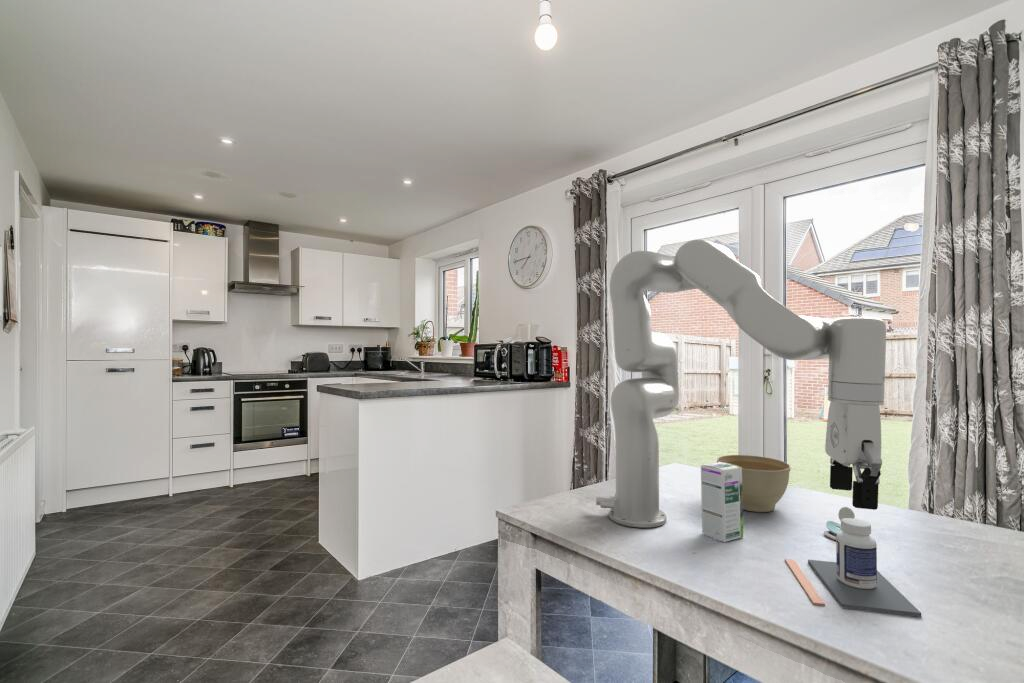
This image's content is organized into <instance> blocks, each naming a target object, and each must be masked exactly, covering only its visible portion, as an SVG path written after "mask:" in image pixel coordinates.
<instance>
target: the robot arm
mask: <svg viewBox="0 0 1024 683" xmlns="http://www.w3.org/2000/svg"><path fill="white" fill-rule="evenodd" d="M691 290H699V291H700V292H702V293H703V294H704V295H706V296H707V297H708V298H710V300H713V301H714V302H715V303H717V304H718V305H719V306H721V307H722V308H723V309H724V310H725V311H726V312H727V314H728V316H729V317H730V318H731V319H732V320H733V322H734V323H735V324H736V325H737V326H738V328H740V330H741V331H743V332H744V333H745V334H746V335H747V336H748V337H750V338H751V339H753V340H754V341H755V342H756V343H758V344H759V345H760V346H762V347H763V348H764V349H766V350H767V351H769V352H770V353H771V354H773V355H774V356H777V357H779V358H782V360H783V359H784V360H787V361H811V360H822V359H823V360H825V359H828V382H827V383H828V384H827V387H828V388H827V401H829V407H828V413H827V420H826V433H825V444H824V445H825V446H824V450H825V453H826V455H827V456H829V457H830V459H829V463H830V466H829V468H830V470H829V471H830V472H829V473H830V474H829V487H830V489H832V490H839V491H852V501H851V502H852V503H851V504H852V506H853V507H854V508H855V509H864V510H871V511H872V510H873V511H876V510H877V509H878V508H879V485H880V481H881V480H880V476H881V475H882V472H881V468H882V465H883V459H882V423H881V422H882V421H881V419H882V418H881V408H880V406H884V405H885V378H886V352H887V351H886V347H887V346H886V344H887V343H886V342H887V325H886V322H884V320H883V319H881V318H879V317H870V316H868V317H867V316H860V317H859V316H858V317H857V316H854V317H853V316H849V317H847V316H845V317H839V318H835V319H830V318H822V317H814V316H808V315H807V316H806V315H799V314H797V313H795V311H794V310H791V309H790V308H788V307H787V306H785V305H784V304H782V303H781V302H779V301H778V300H776V298H774V297H772V296H771V295H770V294H769V293H768V292H767V291H766V290H765V289H763V287H762V285H761V278H760V275H758V274H757V273H756V272H754V271H753V270H751V268H748V267H747V266H745V265H743V264H742V263H740V262H739V261H738V260H736V257H735V255H734V253H733V252H732V250H730V248H728V247H726V246H725V245H722V244H718V243H714V242H711V241H708V240H703V239H693V240H689V241H687V242H685V243H683V244H682V245H681V246H680V247H679V248H678V249H677V251H676V252H675V255H672V256H671V255H668V254H663V253H659V252H656V251H648V250H635V251H631V252H630V253H627V254H626V255H623V257H621V258H620V260H618V262H616V264H615V266H614V268H613V270H612V272H611V276H610V280H609V292H610V293H609V294H610V300H611V301H610V302H611V307H612V308H611V309H612V318H613V326H612V327H613V341H614V357H615V362H616V364H617V367H619V368H620V369H621V370H622V371H625V372H628V373H641V377H637V378H635V377H634V378H628V379H626V380H622V381H621V382H620V383H618V384H617V385H616V386H615V387H614V388H613V390H612V393H611V396H610V407H611V412H612V416H613V424H614V434H615V444H614V445H615V447H614V448H615V493H614V496H610V497H604V496H596V499H595V500H596V501H595V503H596V506H600V509H609V511H608V517H609V520H611V521H613V522H614V523H616V524H618V525H622V526H626V527H632V528H640V529H641V528H646V529H647V528H656V527H659V526H660V527H661V526H662V525H664V524H666V522H667V515H666V513H665V512H664V511H662V510H660V448H659V447H660V446H659V445H660V444H659V435H658V430H657V427H656V425H655V423H654V422H655V421H654V419H659V418H663V417H667V416H669V415H671V414H672V413H673V412H674V411H675V410H676V409H677V406H678V404H679V401H680V400H679V398H680V396H679V395H680V390H679V389H680V388H679V385H680V384H679V372H678V355H677V350H676V347H675V345H674V342H673V341H672V339H670V337H669V336H667V335H666V334H665V333H663V332H660V331H653V324H652V312H651V307H650V304H649V302H648V300H647V298H646V296H645V293H646V291H651V292H656V293H657V292H658V293H663V294H665V293H668V294H670V293H680V292H686V291H691ZM862 470H863V471H862ZM853 472H854V473H853ZM853 474H854V478H855V480H853Z"/></svg>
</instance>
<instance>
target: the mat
mask: <svg viewBox="0 0 1024 683" xmlns="http://www.w3.org/2000/svg"><path fill="white" fill-rule="evenodd" d="M807 564H808V565H809V566H810V567H811V569H812V570H813V571H814V572H816V573H815V574H816V575H817V577H818V578H819V579H820V580H821V582H822V583H823V585H824V587H826V589H827V590H828V591H829V593H830V594H831V595H832V598H834V600H835V601H836V603H838V604H839V606H840V607H841V608H842V609H848V610H849V609H850V610H857V611H863V612H864V611H865V612H875V613H883V614H888V615H889V614H891V615H897V616H898V615H900V616H907V617H908V616H909V617H916V618H922V612H921V611H920V610H919V609H918V608H917V607H916V606H915V605H914V604H913V603H911V601H909V599H907V597H906V596H904V595H903V593H901V592H900V591H899V590H898V589H897V588H896V587H895V586H894V585H893V584H892V583H891V582H890V581H889V580H888V579H887V578H886V577H885V576H884V575H882V573H880V572H879V571H878V570H877V586H876V587H875V588H872V589H860V588H855V587H852V586H849V585H846V584H844V583H842V582H841V581H840V580H839V579H838V578H837V561H836V562H835V561H829V560H827V561H826V560H819V559H818V560H816V559H807Z"/></svg>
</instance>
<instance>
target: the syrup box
mask: <svg viewBox="0 0 1024 683" xmlns="http://www.w3.org/2000/svg"><path fill="white" fill-rule="evenodd" d="M700 492H701V493H700V495H701V496H700V497H701V533H702V534H704V536H705V535H706V536H707V537H709V536H710V538H712V537H713V538H712V539H714V538H715V539H714V540H716V539H718V540H717V541H719V540H720V542H722V541H723V542H722V543H727V542H729V541H733V540H738V539H742V538H743V537H744V510H743V496H742V468H741V467H740V466H737V465H734V464H729V463H723V462H718V463H717V462H714V463H708V464H701V465H700Z"/></svg>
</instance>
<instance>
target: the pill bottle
mask: <svg viewBox="0 0 1024 683" xmlns="http://www.w3.org/2000/svg"><path fill="white" fill-rule="evenodd" d="M840 525H841V528H842V530H843V531H840V532H839V533H838V534H837V536H836V535H835V537H836V540H835V544H836V545H835V546H836V548H835V549H836V558H835V559H836V562H837V578H838V579H839V580H840V581H841V582H842V583H844V584H846V585H849V586H852V587H855V588H860V589H872V588H875V587H876V586H877V571H878V568H877V566H878V557H877V555H878V554H877V553H878V552H877V546H878V545H877V541H876V539H875V538H874V537H873V536H871V534H872V525H871V523H869V522H868V521H866V520H863V519H858V518H854V519H853V518H843V519H842V520H841V521H840Z"/></svg>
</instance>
